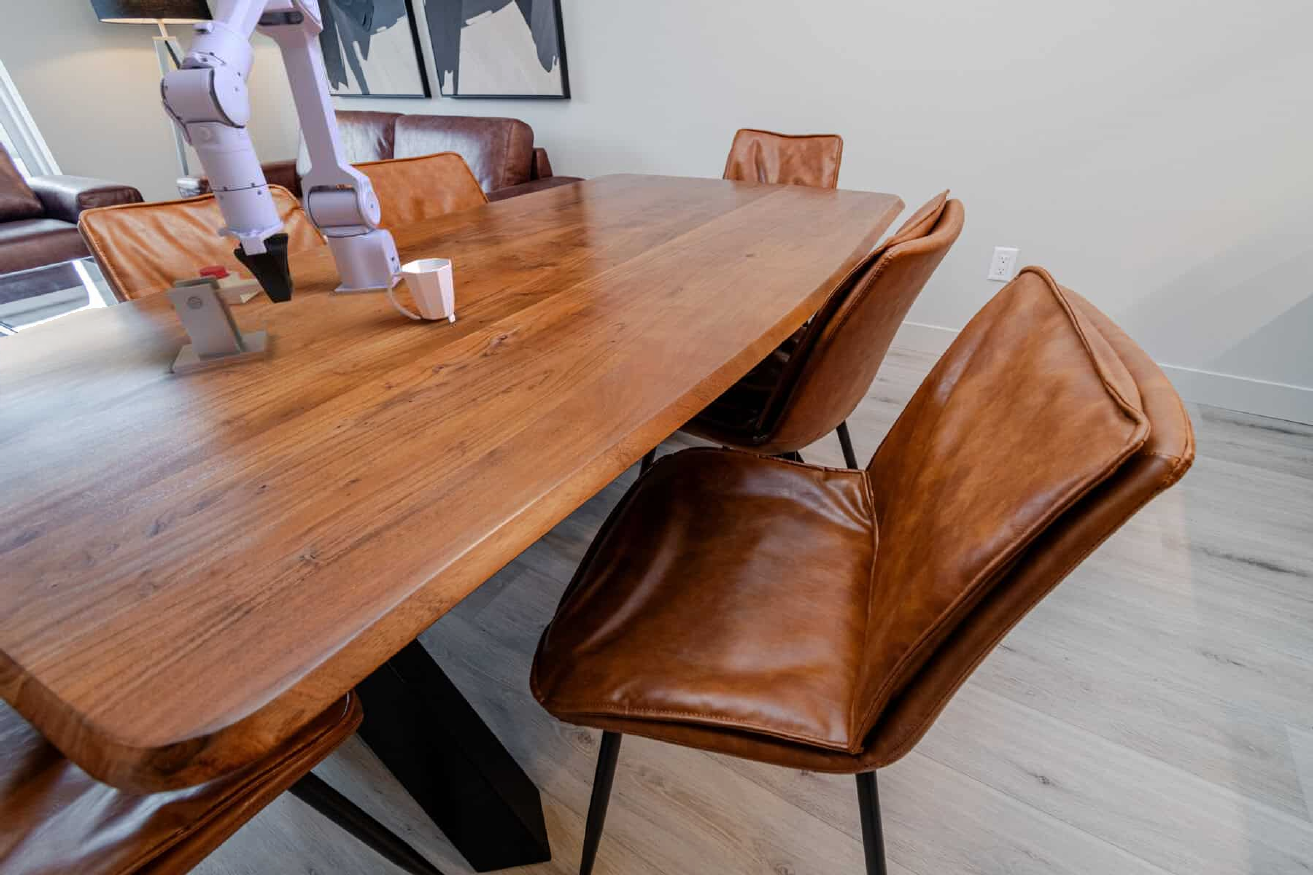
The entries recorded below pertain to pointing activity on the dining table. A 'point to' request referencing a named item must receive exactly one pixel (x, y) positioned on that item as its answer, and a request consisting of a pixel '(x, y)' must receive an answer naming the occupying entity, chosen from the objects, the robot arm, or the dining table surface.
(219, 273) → the button
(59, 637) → the dining table surface
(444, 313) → the cup
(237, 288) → the lever
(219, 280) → the control block
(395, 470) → the dining table surface
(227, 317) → the bracket
